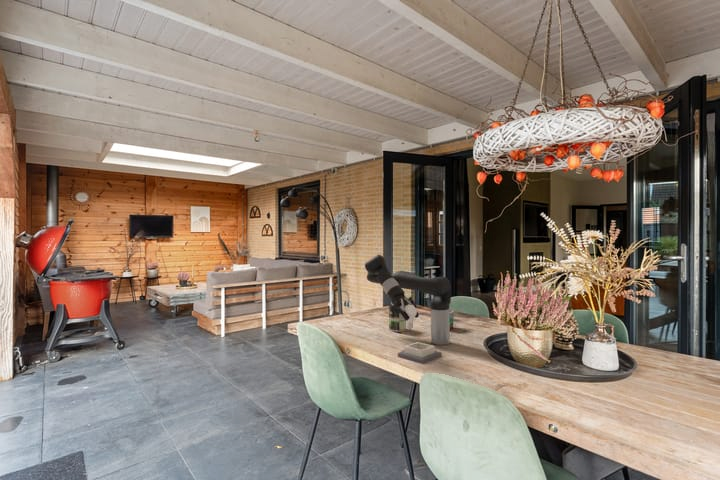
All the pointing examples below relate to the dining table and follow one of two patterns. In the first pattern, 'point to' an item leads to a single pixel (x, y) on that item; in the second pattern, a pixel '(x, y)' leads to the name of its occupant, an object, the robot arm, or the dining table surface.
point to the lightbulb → (410, 315)
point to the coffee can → (396, 321)
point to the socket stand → (419, 352)
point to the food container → (451, 318)
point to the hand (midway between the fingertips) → (412, 318)
